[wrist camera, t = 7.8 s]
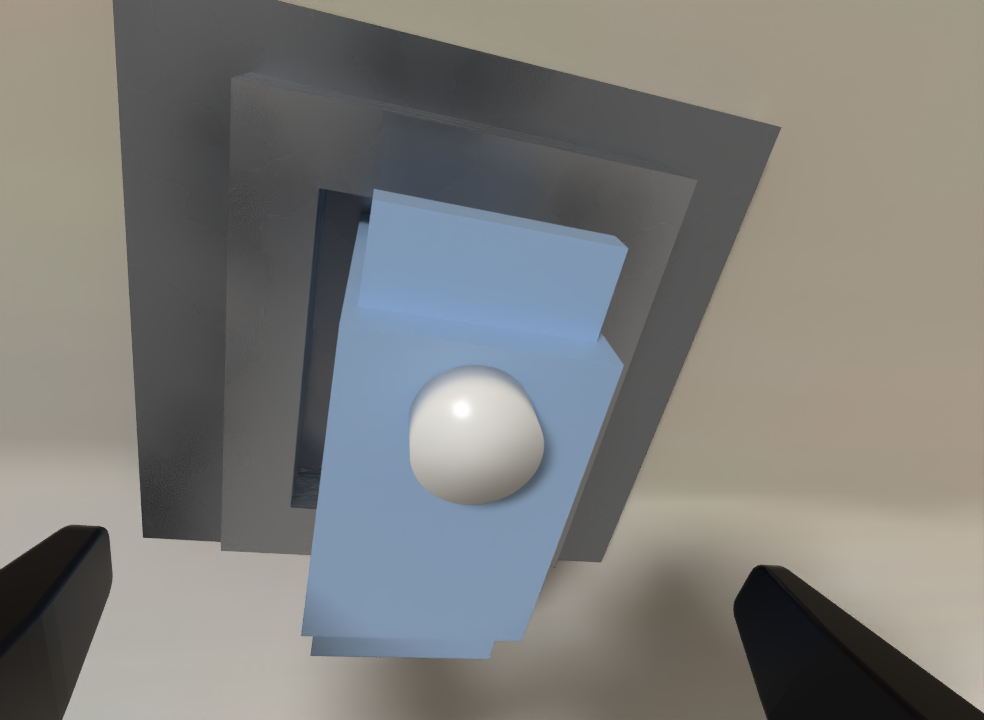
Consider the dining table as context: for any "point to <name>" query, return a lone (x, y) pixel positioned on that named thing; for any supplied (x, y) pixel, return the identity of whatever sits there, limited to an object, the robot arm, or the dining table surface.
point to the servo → (455, 426)
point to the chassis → (334, 224)
